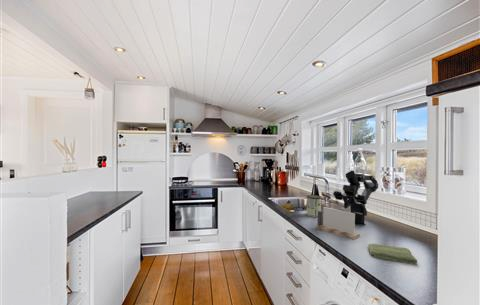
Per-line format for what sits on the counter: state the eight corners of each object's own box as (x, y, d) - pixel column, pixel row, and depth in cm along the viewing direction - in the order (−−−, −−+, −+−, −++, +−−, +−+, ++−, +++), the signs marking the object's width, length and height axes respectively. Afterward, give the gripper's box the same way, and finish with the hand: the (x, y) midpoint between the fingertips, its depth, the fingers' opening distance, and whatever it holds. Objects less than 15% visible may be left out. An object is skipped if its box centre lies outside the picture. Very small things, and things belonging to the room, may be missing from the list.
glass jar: (308, 212, 174) (308, 194, 174) (322, 214, 169) (322, 196, 169) (304, 215, 165) (305, 196, 165) (318, 217, 160) (319, 198, 160)
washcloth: (366, 246, 112) (366, 240, 112) (409, 254, 105) (409, 247, 105) (370, 257, 100) (370, 250, 100) (418, 267, 93) (419, 259, 93)
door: (354, 233, 125) (355, 213, 125) (353, 234, 124) (354, 213, 124) (321, 224, 139) (322, 206, 139) (320, 225, 138) (321, 206, 138)
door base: (359, 236, 126) (360, 218, 126) (353, 239, 120) (354, 221, 120) (321, 225, 143) (322, 209, 143) (314, 227, 138) (315, 211, 138)
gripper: (335, 178, 147) (326, 197, 140) (365, 182, 133) (357, 202, 125) (340, 189, 152) (331, 208, 145) (370, 194, 138) (362, 214, 131)
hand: (344, 208), depth 136 cm, fingers closed
